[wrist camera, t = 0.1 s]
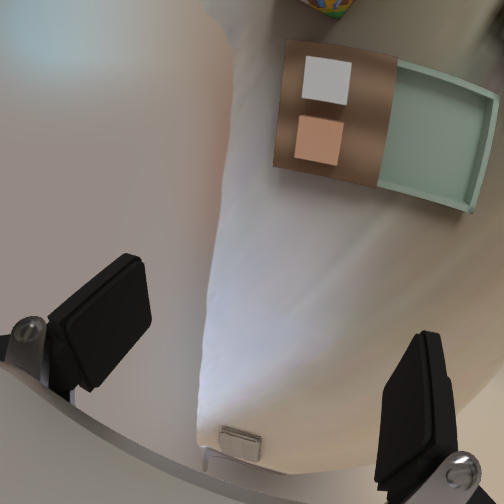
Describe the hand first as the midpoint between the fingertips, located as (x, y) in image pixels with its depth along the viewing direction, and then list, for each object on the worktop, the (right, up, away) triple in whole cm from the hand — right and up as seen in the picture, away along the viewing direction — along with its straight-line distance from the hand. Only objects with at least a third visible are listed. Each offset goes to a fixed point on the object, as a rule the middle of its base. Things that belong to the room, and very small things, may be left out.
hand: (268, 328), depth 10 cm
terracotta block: (+7, +15, +22) cm, 27 cm away
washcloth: (-3, -53, +68) cm, 86 cm away
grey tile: (+7, +20, +19) cm, 29 cm away
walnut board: (+9, +19, +23) cm, 32 cm away
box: (+21, +16, +20) cm, 34 cm away
